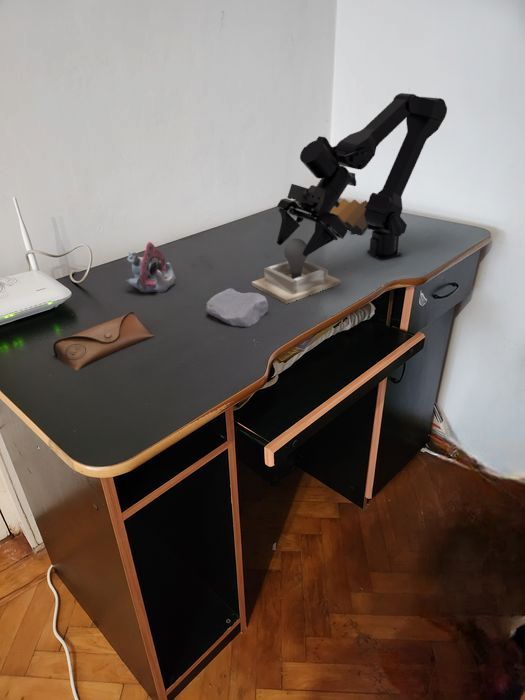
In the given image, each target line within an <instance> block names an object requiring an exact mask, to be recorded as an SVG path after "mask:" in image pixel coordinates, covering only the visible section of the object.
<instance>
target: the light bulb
mask: <svg viewBox="0 0 525 700" xmlns="http://www.w3.org/2000/svg"><path fill="white" fill-rule="evenodd" d="M307 244H308V243H306V242H305V241H304V239H303V240H302V239H300V238H292V239H290V240H289V241H287V243H286V244H285V245H284V248H283V253H284V257H285V259H286V261H288V262H289V265H290V271H291V277H292V279H295V278H298V277H301V275H302V270H303V264H304V261H305V260H306V259H307V258H308V256H304V255H303V251H304V249H305V247H306V245H307ZM306 261H307V260H306Z"/></svg>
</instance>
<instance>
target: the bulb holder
mask: <svg viewBox="0 0 525 700" xmlns="http://www.w3.org/2000/svg"><path fill="white" fill-rule="evenodd" d="M263 270H264V277H262V278H258V279H257V280H254V281H253V280H252V281H251V285H252V287H254V288H256V289H258V290H259V291H261V292H263V293H265V294H266V295H268V296H270V297H272V298H273V299H276V300H277V299H278V301H279V300H280V301H279V302H281V303H283V304H285V305H289V304H291V303H293V302H297V301H299V300H302V299H304V298H307V297H310V296H312V294H313V295H315V293H316V294H318V293H321V292H323V291H322V290H324V291H325V289H326V290H328V289H327V288H329V289H331V288H330V287H332V288H334V287H336V286H335V285H337V286H339V285H338V284H340V285H341V279H338V278H336V277H333V276H331V275H329V274H328V272H329V270H328V269H327V268H325V267H322V266H321V265H318V264H316V263H313V262H310V261H308V260H305V261H304V264H303V270H302V275H301V277H298V278H295V279H292V277H291V271H290V265H289V262H288V261H287V260H286V261H283V262H279V263H277V264H273V265H270V266H267V267H265V268H263ZM333 286H334V287H333ZM320 291H321V292H320ZM317 292H318V293H317ZM309 295H310V296H309ZM296 300H297V301H296ZM288 303H289V304H288Z"/></svg>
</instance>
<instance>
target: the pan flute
mask: <svg viewBox="0 0 525 700" xmlns="http://www.w3.org/2000/svg"><path fill="white" fill-rule="evenodd" d="M338 202H339V204H340V205H339V206H338V208H337V207H333V208H332V210H331V212H330V213H332V214H336V215H338V216H339V217H340V219H341V220H342V221H343V222H344V223H345V224H346V225H347V230H349V231H348V232H350V234H351V235H354V234H357V235H356V236H361V235H362V233H363V232H364V231H365V230H366V229H367V223H366V220H365V217H364V213H365V210H366V208H365V206H366V205H367V203H368V201H367V200H363V201H362V202H361V203H360V202H358V201H357V200H356V199H353V200H352V201H350V202H349V201H348V200H346V198H343V199H341V200H339V201H338ZM299 206H300V205H299ZM300 207H301V208H302V209H303V207H302V206H300ZM307 216H309V215H307Z"/></svg>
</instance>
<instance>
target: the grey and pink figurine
mask: <svg viewBox="0 0 525 700" xmlns="http://www.w3.org/2000/svg"><path fill="white" fill-rule="evenodd" d="M128 254H129V255H128V256H127V259H126V260H127V261H128V263H130V264H131V272H132V274H133V276H134V277H133V278H127V279H126V280H125V281H126V283H128V284H129V285H131V286H133V287H134V288H135V289H137V290H138V291H139V292H140V293H145V294H146V293H165V292H167V290H168V289H169V288H170V287H172V286H173V284H174V282H175V281H176V279H177V278H176V275H175V272H174V270H175V269H174V268H173V267H172V264H171V263H170V262H166V258H165V255H164V254H163V252H162V251H160V249H159V248H157V247H156V246H155V245H154V244H153V243H152V242H151V241H149V242H147V244H146V246H145V250H144V254H143V256H138V254H137V252H135V251H133V252H131V251H130V252H128ZM154 258H155V259H158V261H156V260H155V259H154Z"/></svg>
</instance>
